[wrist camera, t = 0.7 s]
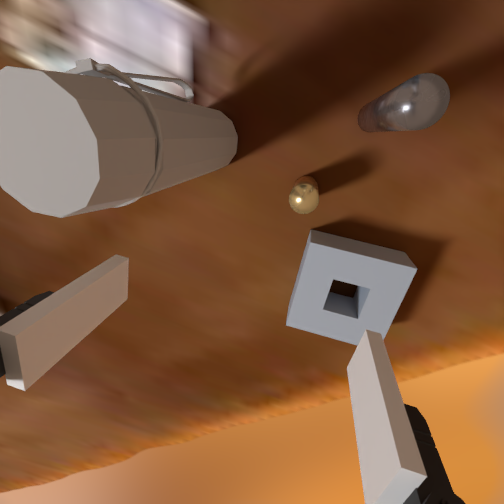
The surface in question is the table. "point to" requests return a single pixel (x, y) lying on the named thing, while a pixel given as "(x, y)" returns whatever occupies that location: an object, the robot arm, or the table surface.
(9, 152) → the water bottle
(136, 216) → the table surface
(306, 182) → the short pin
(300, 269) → the socket block
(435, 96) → the long pin
